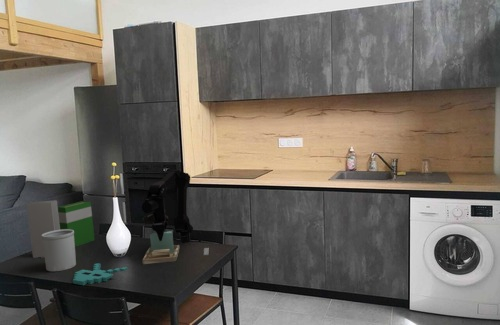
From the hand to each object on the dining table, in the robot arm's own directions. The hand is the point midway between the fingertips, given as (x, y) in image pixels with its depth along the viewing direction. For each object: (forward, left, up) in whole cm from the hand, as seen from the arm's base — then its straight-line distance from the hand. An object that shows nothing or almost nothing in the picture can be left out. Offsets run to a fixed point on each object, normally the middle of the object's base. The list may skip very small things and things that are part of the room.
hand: (161, 238), depth 217 cm
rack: (+4, 0, -9) cm, 10 cm away
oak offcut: (+10, 0, -8) cm, 13 cm away
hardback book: (-39, -55, -9) cm, 68 cm away
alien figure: (+22, -28, -10) cm, 37 cm away
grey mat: (+1, +17, -9) cm, 19 cm away
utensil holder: (+3, -50, -9) cm, 51 cm away
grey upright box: (-19, -65, -9) cm, 68 cm away
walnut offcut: (+10, -1, -7) cm, 12 cm away
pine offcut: (+10, 0, -5) cm, 11 cm away
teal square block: (0, 0, -8) cm, 8 cm away
